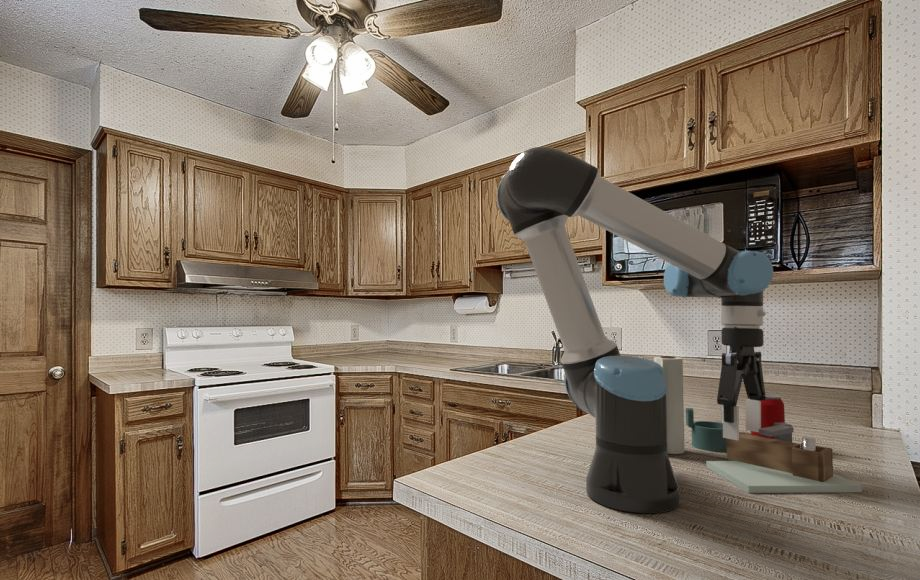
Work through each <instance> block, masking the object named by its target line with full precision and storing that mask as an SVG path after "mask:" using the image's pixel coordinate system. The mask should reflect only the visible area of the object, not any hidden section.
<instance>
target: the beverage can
mask: <svg viewBox="0 0 920 580" xmlns="http://www.w3.org/2000/svg"><path fill="white" fill-rule="evenodd" d="M765 396H766V400H765V401H762V400H759V401H761V428H766V427H772V426H774V423H776V422H784V423H786V419H785V417H786V416H785V415H786V414H785V403H784V401H783V400H782V398H781V396H780V395H779V394H772V393H765ZM750 435H754V436H759V437H765V438H770V439H774V437H769V436H765V435H760V434H759V432H754V431H750Z"/></svg>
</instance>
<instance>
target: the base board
mask: <svg viewBox="0 0 920 580" xmlns="http://www.w3.org/2000/svg"><path fill="white" fill-rule="evenodd" d="M705 464H706V468H708V469H709V470H711V471H712V472H714V473H716V474H717V475H719V476H720V477H722V478H723V479H725V480H727V481H729V482H730V483H732V484H733V485H735V486H736V487H739V488H740V489H742V490H743V491H745V492H746V493H748V494H765V493H766V494H772V493H773V494H778V493H779V494H780V493H781V494H787V493H788V494H790V493H791V494H795V493H797V494H798V493H799V494H801V493H802V494H803V493H810V494H811V493H862V484H859V483H857V482H854V481H852V480H850V479H848V478H846V477H843V476H841V475H838V474H836V473H834V472H833V476H832V477H831V478H829V479H828V480H827V481H825V482H820V481H815V480H811V479H807V478H802V477H798V476H793V474H792V473H787V472H783V471H779V470H774V469H770V468H765V467H761V466H756V465H752V464H748V463H743V462H739V461H734V460H706V463H705Z"/></svg>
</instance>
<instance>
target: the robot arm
mask: <svg viewBox="0 0 920 580" xmlns="http://www.w3.org/2000/svg"><path fill="white" fill-rule="evenodd" d="M496 197H497V199H496V200H497V206H498V209H499V210H500V213H501V214H502V216H503V217H504V218H505V219H506V220H507V221H508V222H509V224H510V227H511V229H512V232H513V235H514V237H515V238H517V239H519V240H522V242H524V244H525V247H526V248H527V249H526V250H527V252H528V254H529V257H530V261H531V262H532V264H533V268H534V271H535V273H536V276H537V277H536V278H537V280H538V282H539V284H540V287H541V291H542V293H543V296H544V298H545V300H546V303H547V306H548V309H549V312H550V314H551V317H552V320H553V323H554V325H555V328H556V331H557V333H558V337H559V338H560V339H559V340H560V342H561V344H562V347H563V350H564V351H563V354H562V356H561V358H560V362H561V366H562V369H563V371H564V389H565V392H566V394H567V395H568V396H567V397H569V399H570V401H571V402H572V403H573V404H574V405H575V406H576V407H577V408H578V409H579V410H581V411H582V412H583V413H587V414H588V415H590V416H591V417H594V418H595V450H594V453H593V456H592V459H591V462H590V465H589V468H588V472H587V474H586V475H587V476H586V479H585V480H586V481H585V483H586V488H585V490H586V494H587V496H588V497H589V498H590V499H591V500H592V501H595V502H596V503H598V504H599V505H603V506H605V507H608V508H610V509H614V510H619V511H623V512H630V513H636V514H660V513H665V512H669V511H673V510H675V509H676V508H677V507H678V506H679V505H680V499H681V498H680V488H679V484H678V481H677V478H676V475H675V472H674V469H673V466H672V463H671V461H670V459H669V455H668V453H667V406H666V392H667V383H666V378H665V371H664V369H663V368H662V366H661V365H660V364H658V363H656V362H654V360H651V359H648V358H643V357H638V356H629V355H621V353H620V350H619V348H618V345H617V342H616V341H613V340H611V339H610V338H607V337H606V335H605V332H604V329H603V327H602V324H601V322H600V319H599V316H598V313H597V310H596V307H595V305H594V302H593V299H592V297H591V294H590V292H589V289H588V285H587V283H586V280H585V278H584V275H583V272H582V269H581V267H580V264H579V261H578V259H577V256H576V254H575V251H574V248H573V245H572V242H571V240H570V238H569V235H568V232H567V229H566V223H567V221H568V219H569V218H575V217H581V218H583V219H585V220H586V221H589V222H591V223H593V224H594V225H596V226H598V227H600V228H602V229H603V230H606V231H608V232H609V233H611V234H613V235H615V236H617V237H619V238H621V239H623V240H624V241H627V242H628V243H630V244H632V245H633V246H636V247H638V248H640V249H642V250H643V251H645V252H647V253H649V254H651V255H653V256H655V257H656V258H659V259H661V260H663V261H665V262H666V263H668V264H667V265H666V267H665V270H664V274H663V286H664V288H665V290H666V292H667V293H668V295H670V296H672V297H678V298H679V297H682V298H683V299H684V298H716V299H717V298H718V299H720V300H721V301H720V302H721V309H720V311H721V312H720V313H721V314H720V315H721V316H720V324H721V325H723V326H724V327H722V329H721V331H720V332H721V334H720V335H721V344H722V345H724V346H728V347H729V351H728V353H725V352H722V354H721V369H720V376H719V383H718V390H717V396H716V403H717V404H718V405H720V406H721V405H723V438H728V439H732V440H737V441H738V440H739V433H740V406H737V405H738V400H739V396H740V391H741V387H742V383H743V385H744V389H745V393H746V396H747V398H746V399H745V401H744V402H745V404H744V405H745V431H749V432H751V431H754V432H759V429H761V401H759V400H762V401H765V400H766V396H765V394H766V389H765V382H764V381H765V380H764V374H763V373H764V372H763V367H762V365H763V364H762V351H755V348H761V347H763V346H764V330H763V328H760V327H762V326H763V325H764V317H765V316H766V315H767V312H766V311H765V310H764V290H766V289H767V288H768V287H769V286H770V285H771V282H772V280H773V277H774V267H773V264H772V262H771V260H770V259H769V258H768V256H767V255H766V254H764V253H762V252H760V251H757V250H748V249H747V250H741V251H739V250H737V249H736V248H733V247H732V246H729V245H727V244H725V243H724V242H722V241H720V240H718V239H717V238H715V237H713V236H711V235H709V234H707V233H705V232H704V231H701V230H700V229H697V228H696V227H694V226H692V225H690V224H689V223H686V222H685V221H683V220H682V219H679V218H678V217H677V216H673V215H672V214H670V213H668V212H666V211H665V210H663V209H661V208H659V207H657V206H655V204H654V205H653V204H651V203H649V202H647V201H646V200H644V199H642V198H640V197H638V196H637V195H635V194H633V193H632V192H629V191H628V190H626V189H624V188H622V187H620V186H618V185H617V184H614V183H613V182H611V181H609V180H607V179H606V178H603V177H602V176H601V172H600V169H599V168H598V167H596V166H594V165H593V164H590V163H589V162H587V161H586V160H583V159H582V158H579V157H576V156H575V155H572V154H571V153H567V152H566V151H563V150H561V149H557V148H553V147H549V146H537V147H536V146H535V147H531V148H528V149H526V150H523V152H521V153H520V154H519V155H517V156H516V157H515V158H514V159H513V161H511V165H509V167H508V170H507V172H505V173H504V175H503V176H502V178H501V179H500V182H499V185H498V187H497V196H496Z"/></svg>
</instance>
